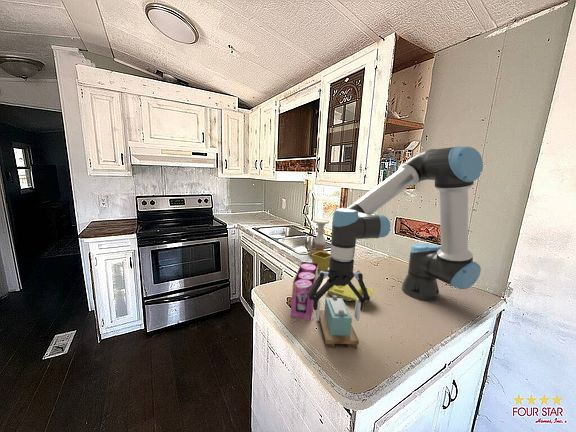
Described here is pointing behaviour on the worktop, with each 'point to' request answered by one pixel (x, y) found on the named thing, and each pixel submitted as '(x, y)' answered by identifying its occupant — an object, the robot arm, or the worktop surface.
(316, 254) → the flower pot
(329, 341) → the stand
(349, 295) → the plastic component
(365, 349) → the worktop surface
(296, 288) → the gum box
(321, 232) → the candle holder
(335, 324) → the housing
